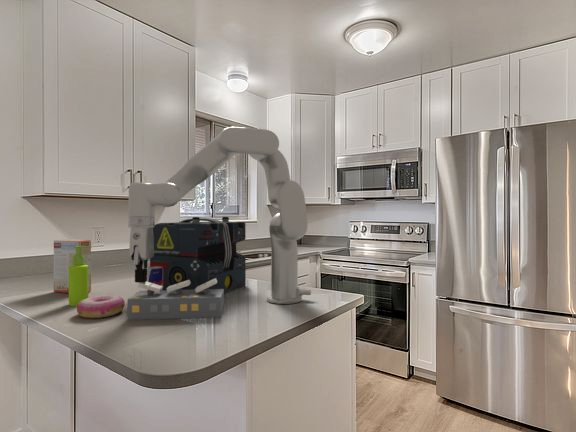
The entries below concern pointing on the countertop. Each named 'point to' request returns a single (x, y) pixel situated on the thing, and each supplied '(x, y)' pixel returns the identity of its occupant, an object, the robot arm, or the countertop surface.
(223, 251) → the power unit
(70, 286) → the soap dispenser
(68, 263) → the cracker box
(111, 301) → the donut
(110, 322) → the countertop surface
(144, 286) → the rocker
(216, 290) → the panel
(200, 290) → the rocker
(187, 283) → the block
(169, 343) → the countertop surface
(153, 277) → the energy drink
